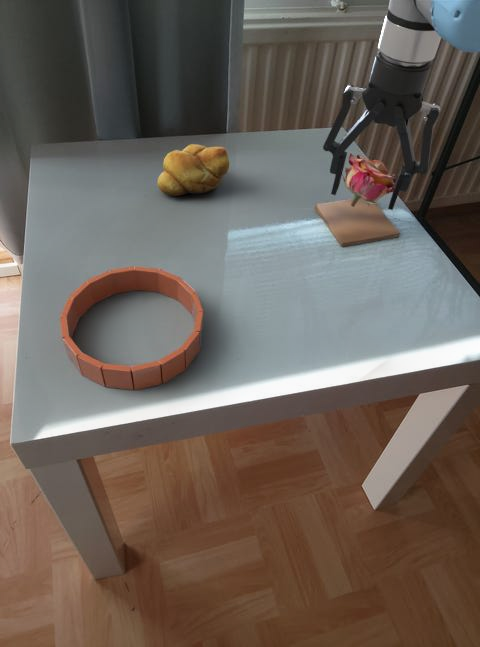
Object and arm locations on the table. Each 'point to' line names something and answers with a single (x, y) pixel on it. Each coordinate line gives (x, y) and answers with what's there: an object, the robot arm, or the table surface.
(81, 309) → the terracotta brick ring
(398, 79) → the robot arm
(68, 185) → the table surface
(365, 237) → the brown wooden square board
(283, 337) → the table surface
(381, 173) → the flower
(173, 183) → the bread roll
